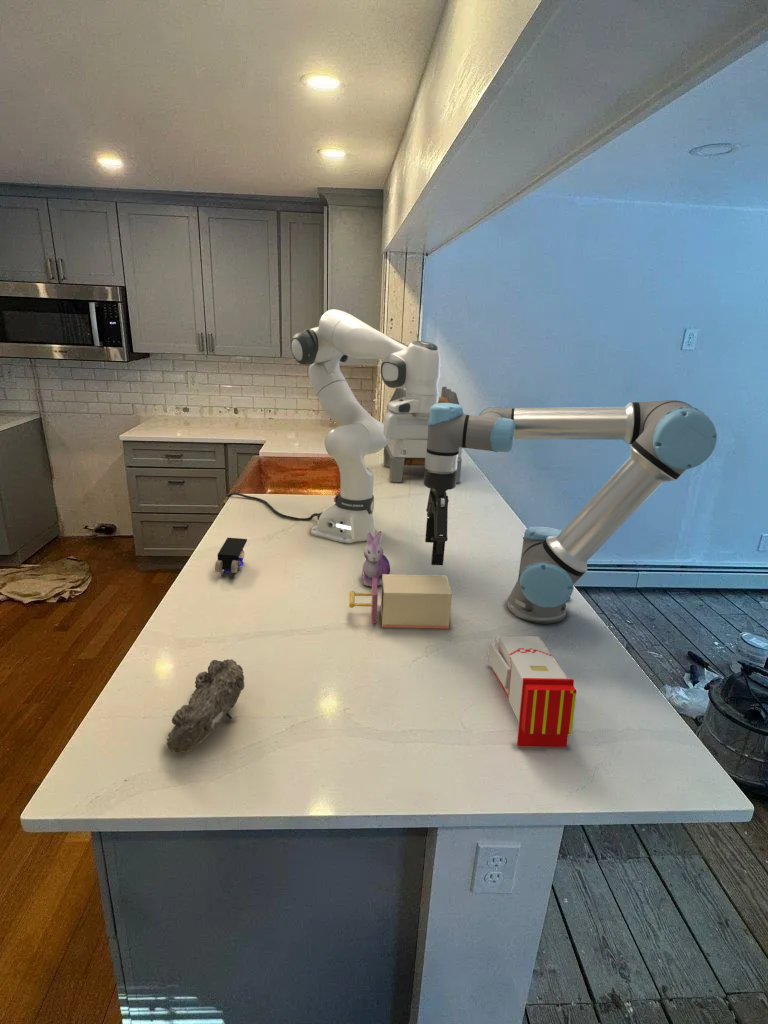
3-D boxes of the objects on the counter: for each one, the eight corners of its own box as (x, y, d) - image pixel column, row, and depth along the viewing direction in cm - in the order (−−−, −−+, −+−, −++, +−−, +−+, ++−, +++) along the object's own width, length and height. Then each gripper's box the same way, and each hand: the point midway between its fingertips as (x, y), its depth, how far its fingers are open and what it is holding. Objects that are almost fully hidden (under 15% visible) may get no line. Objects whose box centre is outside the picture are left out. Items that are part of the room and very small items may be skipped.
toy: (536, 619, 129) (586, 686, 99) (531, 673, 131) (578, 754, 102) (483, 618, 128) (517, 685, 99) (479, 672, 131) (511, 753, 102)
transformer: (382, 463, 289) (386, 382, 275) (445, 464, 293) (451, 384, 279) (390, 482, 257) (394, 392, 243) (460, 483, 261) (468, 394, 247)
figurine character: (238, 584, 162) (249, 557, 175) (236, 562, 158) (247, 536, 172) (215, 584, 161) (227, 556, 175) (212, 561, 158) (225, 535, 171)
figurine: (368, 590, 159) (370, 541, 153) (353, 575, 167) (354, 528, 162) (398, 584, 163) (401, 536, 158) (382, 570, 171) (384, 524, 166)
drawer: (348, 622, 141) (349, 594, 138) (349, 604, 149) (350, 577, 147) (433, 623, 142) (436, 595, 139) (429, 605, 150) (431, 579, 148)
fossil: (192, 660, 117) (244, 628, 112) (224, 691, 120) (276, 661, 115) (142, 746, 98) (202, 712, 93) (182, 779, 101) (242, 748, 96)
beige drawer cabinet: (382, 627, 141) (383, 592, 138) (380, 607, 151) (382, 574, 147) (448, 628, 142) (452, 593, 139) (443, 608, 151) (446, 575, 148)
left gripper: (453, 402, 159) (449, 450, 163) (382, 402, 153) (381, 452, 158) (461, 405, 153) (458, 455, 157) (389, 406, 148) (387, 458, 152)
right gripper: (465, 486, 122) (456, 575, 129) (449, 457, 145) (442, 534, 152) (431, 485, 121) (423, 574, 128) (419, 456, 145) (414, 533, 152)
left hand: (418, 454), depth 158 cm, fingers open, 8 cm apart
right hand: (433, 553), depth 140 cm, fingers open, 13 cm apart
